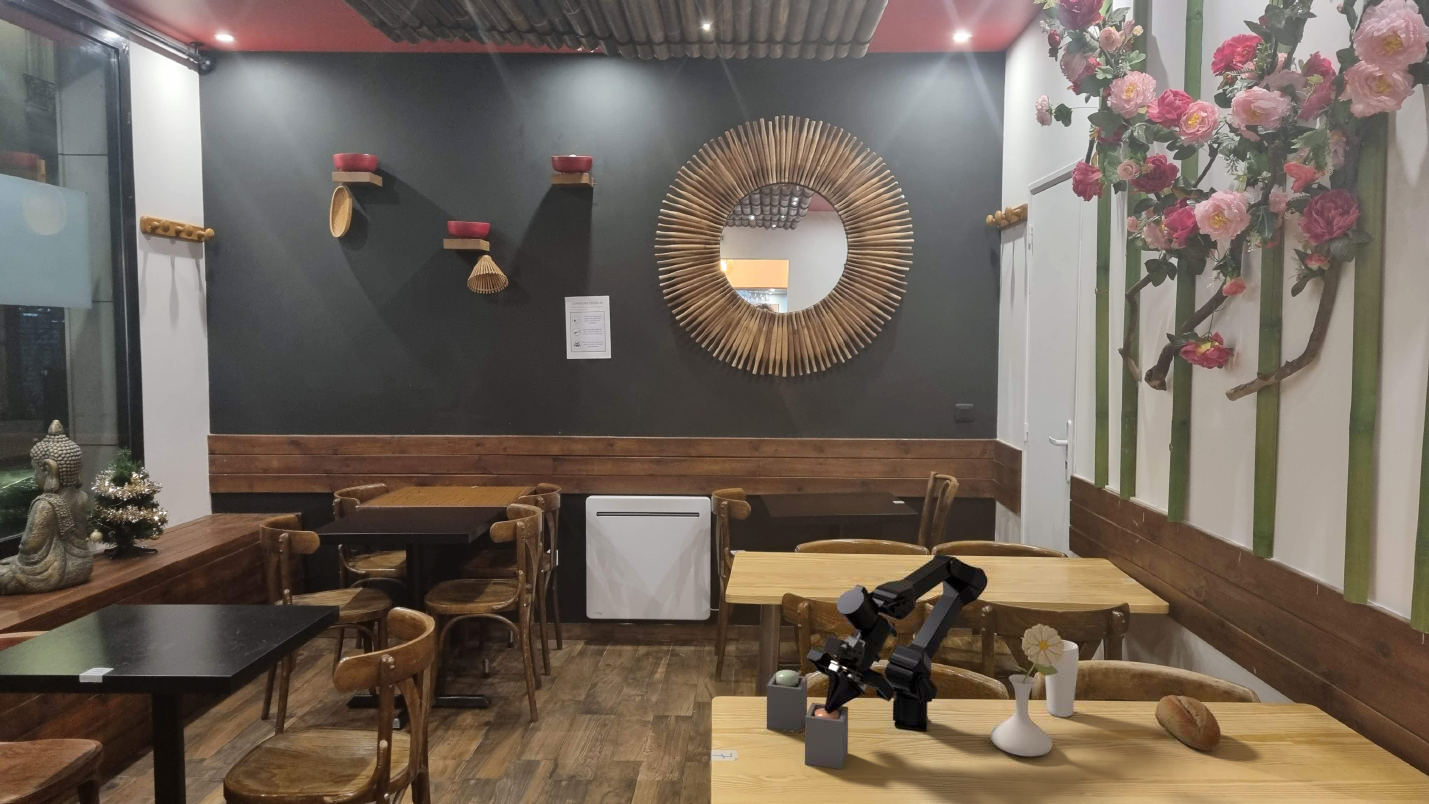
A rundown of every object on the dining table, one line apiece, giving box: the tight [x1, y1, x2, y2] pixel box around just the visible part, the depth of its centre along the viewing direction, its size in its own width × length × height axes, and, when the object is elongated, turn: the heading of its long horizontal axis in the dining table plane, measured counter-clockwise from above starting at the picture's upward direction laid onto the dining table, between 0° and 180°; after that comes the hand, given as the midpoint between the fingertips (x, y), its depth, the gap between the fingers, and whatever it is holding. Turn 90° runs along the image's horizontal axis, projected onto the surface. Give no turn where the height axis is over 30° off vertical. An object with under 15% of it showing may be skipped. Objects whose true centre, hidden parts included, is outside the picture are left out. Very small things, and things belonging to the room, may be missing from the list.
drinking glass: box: [1044, 639, 1080, 718], centre depth 179 cm, size 7×7×15 cm
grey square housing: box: [804, 702, 849, 771], centre depth 159 cm, size 7×7×9 cm
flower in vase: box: [989, 623, 1064, 757], centre depth 162 cm, size 13×11×25 cm
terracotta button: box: [815, 708, 839, 720], centre depth 158 cm, size 5×5×2 cm
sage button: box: [775, 669, 800, 688], centre depth 173 cm, size 5×5×2 cm
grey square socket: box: [766, 672, 808, 733], centre depth 174 cm, size 7×7×9 cm
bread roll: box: [1154, 694, 1222, 751], centre depth 168 cm, size 10×15×8 cm, turn 3°
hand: (826, 711), depth 158 cm, fingers closed, pressing on terracotta button
